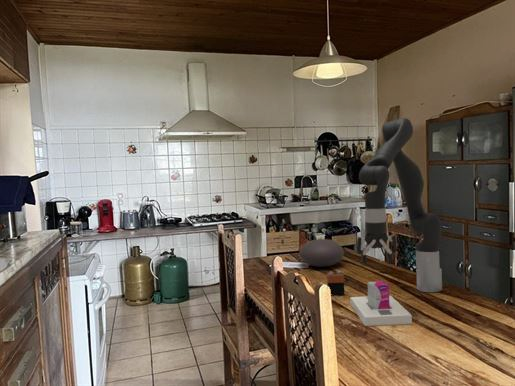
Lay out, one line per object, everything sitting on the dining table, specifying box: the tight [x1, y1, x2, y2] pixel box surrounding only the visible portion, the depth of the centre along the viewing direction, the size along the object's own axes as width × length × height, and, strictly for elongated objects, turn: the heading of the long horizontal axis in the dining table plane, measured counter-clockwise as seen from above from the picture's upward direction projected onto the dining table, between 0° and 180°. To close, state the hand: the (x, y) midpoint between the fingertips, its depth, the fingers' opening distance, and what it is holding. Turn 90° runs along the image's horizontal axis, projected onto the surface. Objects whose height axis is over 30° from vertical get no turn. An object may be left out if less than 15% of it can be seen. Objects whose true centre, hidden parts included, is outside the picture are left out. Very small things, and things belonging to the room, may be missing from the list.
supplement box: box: [367, 280, 390, 310], centre depth 146 cm, size 6×6×12 cm
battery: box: [326, 270, 346, 297], centre depth 171 cm, size 4×7×10 cm, turn 85°
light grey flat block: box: [349, 294, 413, 327], centre depth 146 cm, size 16×22×3 cm
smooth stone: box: [298, 238, 345, 268], centre depth 223 cm, size 25×25×15 cm
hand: (376, 264), depth 146 cm, fingers open, 8 cm apart
